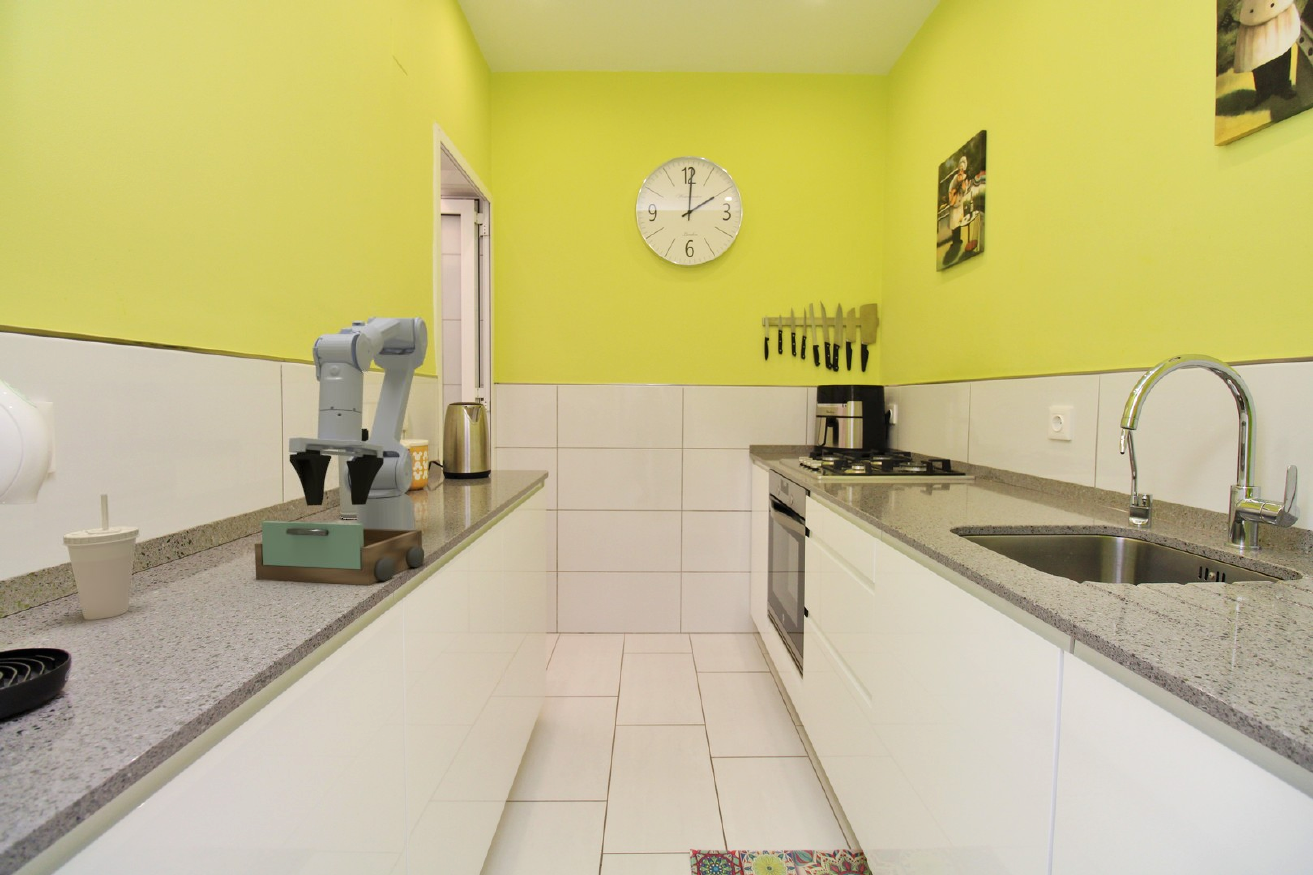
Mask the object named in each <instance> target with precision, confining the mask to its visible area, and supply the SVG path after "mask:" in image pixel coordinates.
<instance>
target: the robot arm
mask: <svg viewBox="0 0 1313 875" xmlns="http://www.w3.org/2000/svg"><path fill="white" fill-rule="evenodd" d="M366 321H367V322H365V320H354V321H351V326H348V327H342V328H340V331H339V332H337V333H323V334H322V335H321V336H320V337H318V338H315V340H314V343H313V347H312V357H313V362H314V365H315V377H316V381H318V382H319V392H318V394H319V395H318V415H317V416H318V418H317V422H318V424H317V438H312V437H311V438H310V437H290V438H289V442H288V453H292V454H289V462H290V464H291V465H292V467H293V469H294V471H295V472H296V474H297V476H298V478H299V481H300V484H301V487H302V490H303V494H304V499H305V502H306V506H307V507H309V506H322V505H323V501H324V494H325V481H326V477H327V473H328V472H327V471H328V469H329V465H330V463H331V460H332V456H338V455H340V456H350V458H349V460H348V461H347V462H346V464H345V467H344V471H343V481H344V485H345V487H346V489H347V490H348V491H349V492H350V493H351V501H352V505H357V520H356V524H363V529H394V530H416V528H415V527H416V526H415V522H416V521H415V505H414V501H413V500H412V499H411V497H410V496H409V495H408V494H406V492H407V491H408V490H409V489H410V488H411V485H412V482H413V462H414V460H413V456H412V454H411V452H410V451H409V449H408V448H407V447H406V446H405V445H404V444H402V443H400V442H401V439H402V438H401V437H402V433H403V426H404V424H405V423H404V422H405V417H406V412H407V406H408V404H409V403H408V402H409V398H410V393H411V388H412V383H413V378H414V374H415V370H417V369H418V368H420V367H421V366H423V365H424V362H425V358H426V354H427V351H428V350H427V348H428V344H429V343H428V342H429V340H428V327H427V325H426V322H425V321H424V319H423V318H422V317H421V316H416V317H376V316H371V317H367V320H366ZM372 361H373V362H374V365H376V366H377V367H379V368H381V369H382V370H384V377H383V381H382V385H381V387H380V388H381V389H380V394H379V398H378V402H377V407H376V411H375V415H374V419H373V423H372V427H371V432H370V435H369V439H368V440H367V441H362V429H363V404H364V403H363V400H364V372H365V373H366V372H367V373H368V372H369V370H370V368H371V364H372ZM335 450H337V451H335ZM338 450H346V452H338ZM349 452H352V453H349Z"/></svg>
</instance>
